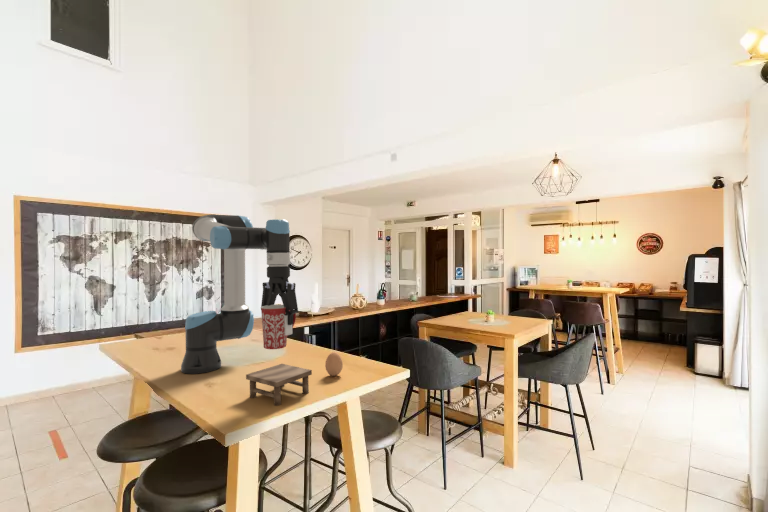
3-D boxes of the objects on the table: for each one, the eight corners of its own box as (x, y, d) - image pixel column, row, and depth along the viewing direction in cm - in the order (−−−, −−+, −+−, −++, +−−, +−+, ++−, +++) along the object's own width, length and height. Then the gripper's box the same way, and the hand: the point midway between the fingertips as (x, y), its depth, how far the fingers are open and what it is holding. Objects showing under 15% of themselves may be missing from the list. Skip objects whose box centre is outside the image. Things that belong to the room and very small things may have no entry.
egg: (346, 375, 146) (345, 352, 146) (332, 379, 141) (332, 355, 141) (335, 372, 151) (335, 349, 151) (322, 375, 146) (321, 352, 146)
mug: (270, 351, 119) (270, 309, 119) (255, 347, 125) (255, 306, 125) (303, 344, 129) (303, 305, 128) (287, 340, 135) (287, 302, 134)
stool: (246, 397, 124) (246, 374, 124) (282, 384, 137) (281, 363, 137) (276, 407, 116) (276, 382, 116) (311, 392, 128) (311, 370, 128)
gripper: (249, 266, 130) (249, 332, 130) (291, 266, 118) (292, 338, 118) (266, 265, 136) (267, 328, 136) (309, 265, 124) (310, 334, 124)
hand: (279, 333), depth 127 cm, fingers closed on mug, 8 cm apart
